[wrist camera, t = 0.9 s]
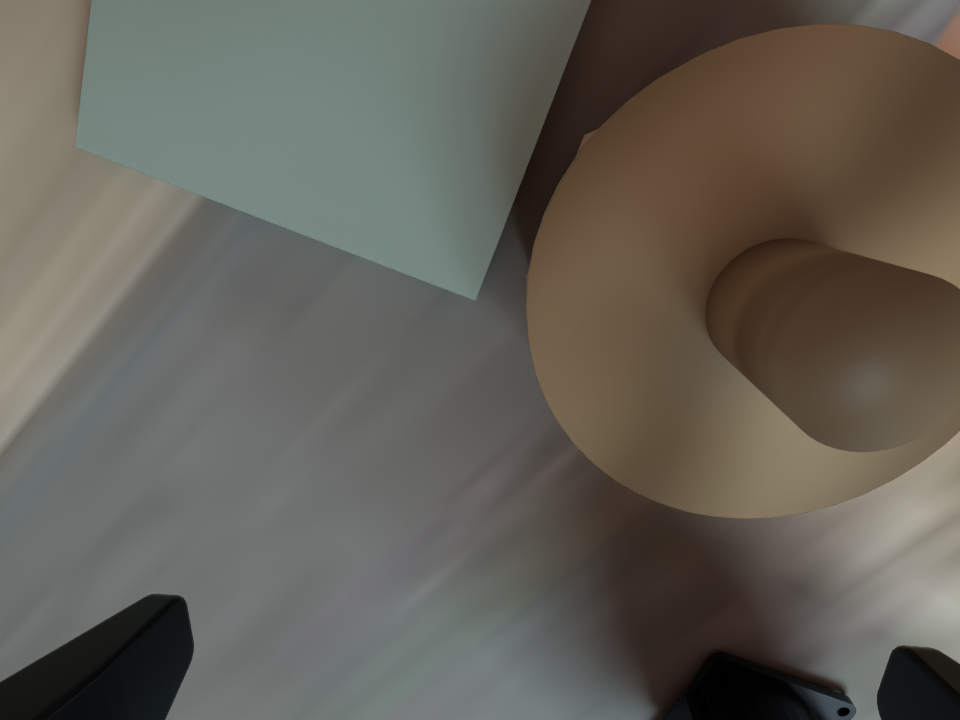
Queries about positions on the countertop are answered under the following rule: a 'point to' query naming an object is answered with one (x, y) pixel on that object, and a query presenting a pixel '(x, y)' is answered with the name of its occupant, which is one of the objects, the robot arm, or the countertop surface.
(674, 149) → the lid
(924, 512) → the countertop surface
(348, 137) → the mat
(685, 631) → the countertop surface
